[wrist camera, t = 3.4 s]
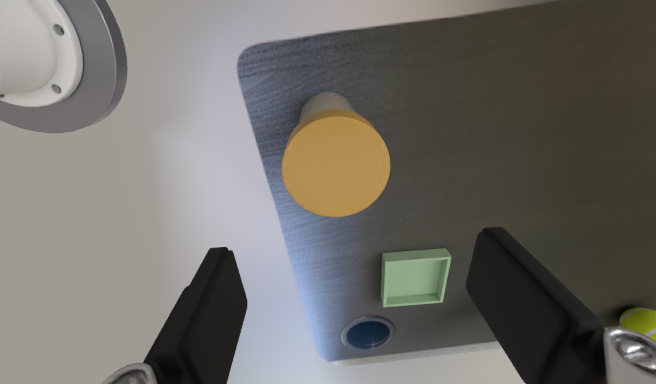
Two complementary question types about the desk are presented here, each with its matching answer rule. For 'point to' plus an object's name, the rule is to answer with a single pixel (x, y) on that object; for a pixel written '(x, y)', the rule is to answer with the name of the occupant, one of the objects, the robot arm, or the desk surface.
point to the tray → (414, 277)
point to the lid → (335, 163)
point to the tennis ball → (640, 321)
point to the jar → (324, 104)
